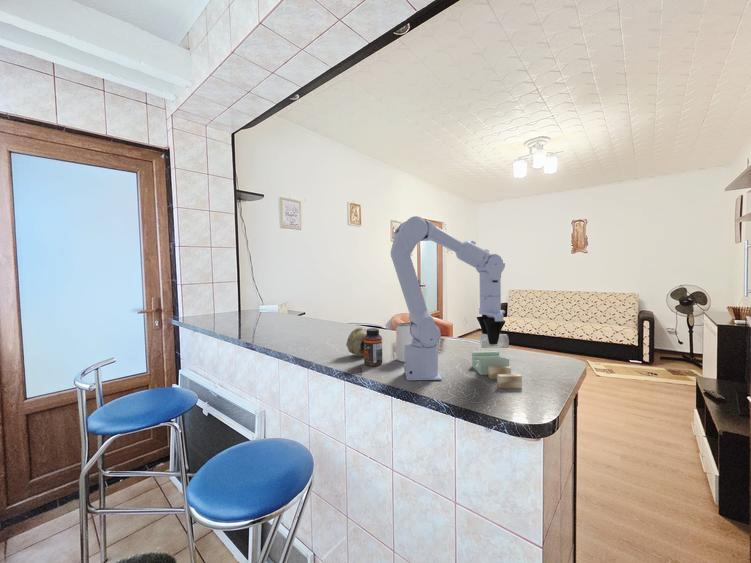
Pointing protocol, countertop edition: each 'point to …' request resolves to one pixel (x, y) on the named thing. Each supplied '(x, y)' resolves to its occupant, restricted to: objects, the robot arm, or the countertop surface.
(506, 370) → the beige blocks
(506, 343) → the axle
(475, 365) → the v block
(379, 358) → the supplement bottle
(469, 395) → the countertop surface
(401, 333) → the can
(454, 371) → the countertop surface
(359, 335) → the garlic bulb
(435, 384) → the countertop surface
